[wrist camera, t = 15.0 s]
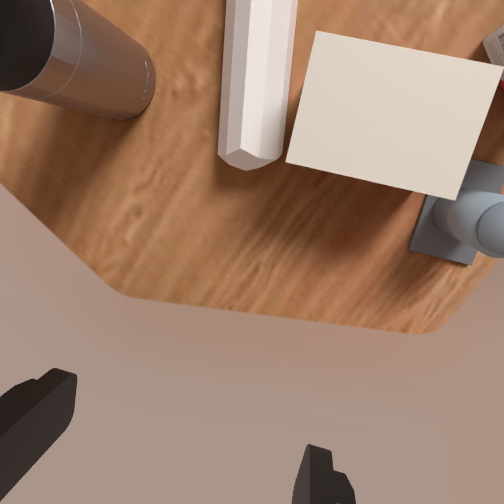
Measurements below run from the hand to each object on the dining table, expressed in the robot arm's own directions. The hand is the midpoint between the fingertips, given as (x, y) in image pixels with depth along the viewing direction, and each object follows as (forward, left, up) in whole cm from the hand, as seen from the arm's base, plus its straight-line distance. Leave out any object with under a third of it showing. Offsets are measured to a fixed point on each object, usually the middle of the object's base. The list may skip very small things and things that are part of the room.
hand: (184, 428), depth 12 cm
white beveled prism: (-6, +19, -34) cm, 39 cm away
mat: (+19, +8, -33) cm, 39 cm away
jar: (+19, +8, -32) cm, 38 cm away
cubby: (+7, +14, -33) cm, 37 cm away
